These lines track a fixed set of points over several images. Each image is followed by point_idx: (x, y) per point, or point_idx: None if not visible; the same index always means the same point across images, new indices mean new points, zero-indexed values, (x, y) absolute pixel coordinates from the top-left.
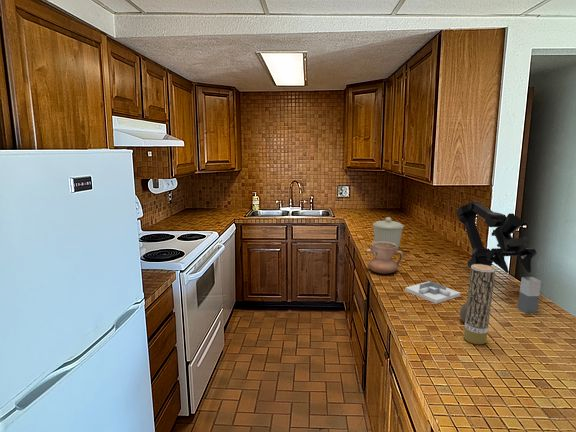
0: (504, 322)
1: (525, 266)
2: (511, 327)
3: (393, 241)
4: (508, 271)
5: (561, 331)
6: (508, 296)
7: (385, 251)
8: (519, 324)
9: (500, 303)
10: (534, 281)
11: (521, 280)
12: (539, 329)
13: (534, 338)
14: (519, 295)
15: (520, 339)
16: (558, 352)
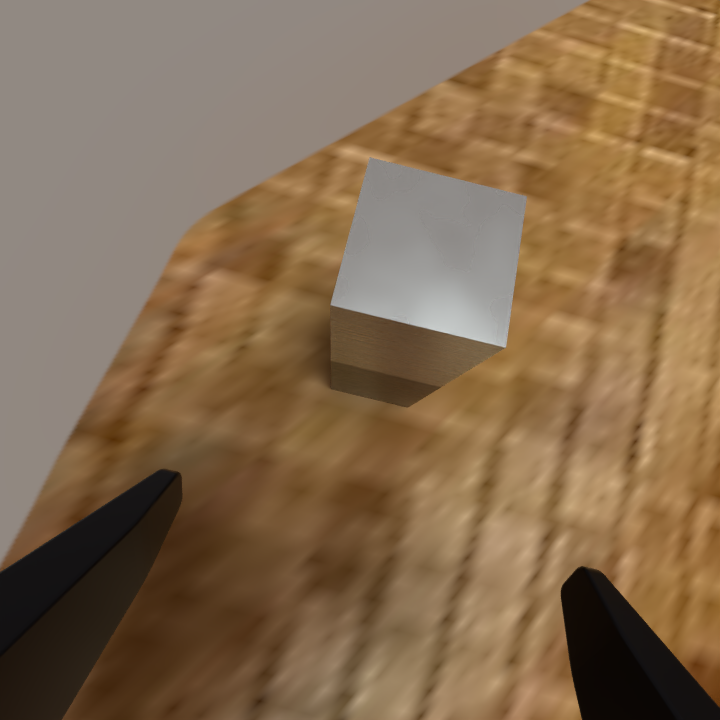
0: (634, 281)
1: (72, 670)
2: (636, 231)
3: None
4: (600, 574)
5: (423, 133)
6: (278, 618)
7: None
8: (571, 242)
9: (458, 510)
10: (461, 184)
11: (487, 354)
12: (513, 177)
13: (607, 130)
14: (431, 390)
15: (675, 142)
16: (598, 37)
